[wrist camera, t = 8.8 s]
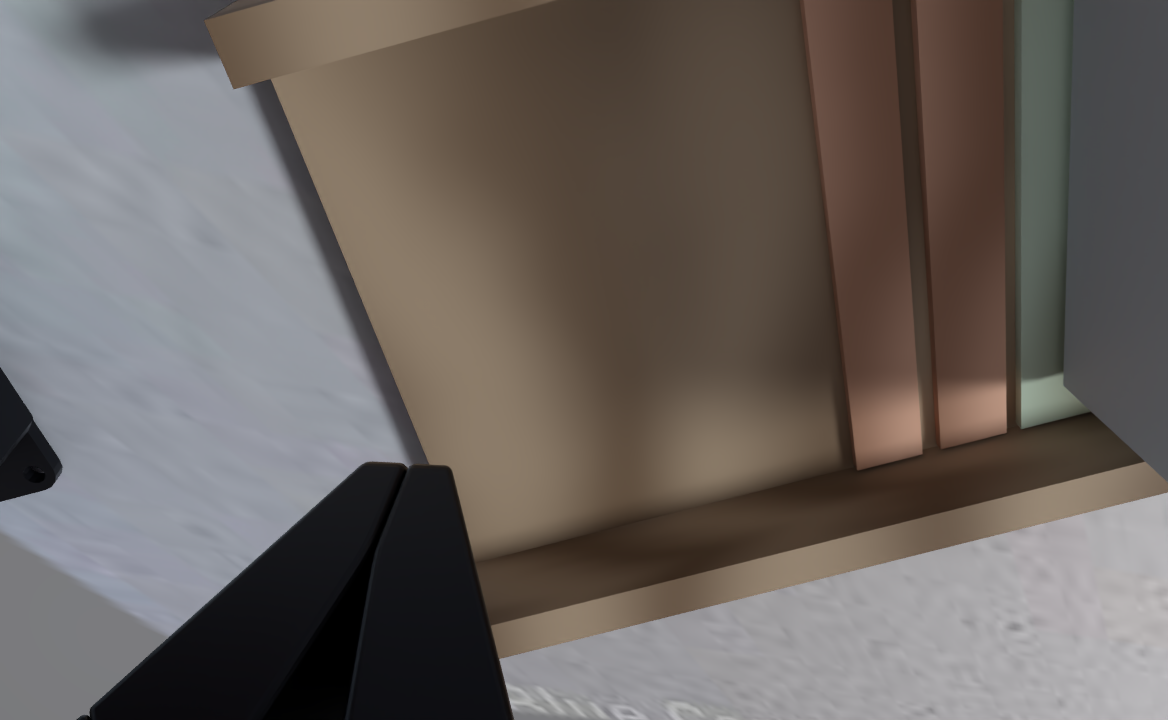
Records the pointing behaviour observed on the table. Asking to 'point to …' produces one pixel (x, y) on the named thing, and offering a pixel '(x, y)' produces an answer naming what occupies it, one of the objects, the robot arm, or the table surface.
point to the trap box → (704, 279)
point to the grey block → (1119, 222)
